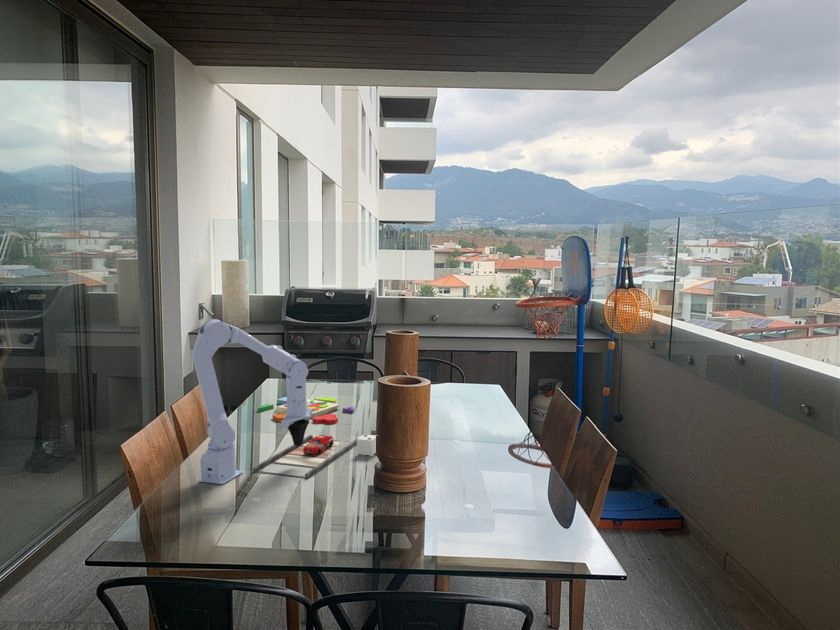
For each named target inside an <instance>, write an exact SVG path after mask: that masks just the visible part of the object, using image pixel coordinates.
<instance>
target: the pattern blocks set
mask: <svg viewBox="0 0 840 630" xmlns="http://www.w3.org/2000/svg"><path fill="white" fill-rule="evenodd" d="M276 404H278V406H277V407H275V409H274V404H273V403H272V404H269V403H266V404H263V405H260V406H258V407H257V413H263V412H264V411H265V412H267V411H270V410H274V411H273V414H272V419H273V420H274V421H275V422H276V423H281V420H283V419H284V418H285V416H286V415H287V396H283V397H280V398H277V399H276ZM340 406H341V404H339V403H337V399H336V397H329V396H328V397H327V396H324V397H317V398H314V399H310V398H307V408H310V409H312V415H311V416H310V417H309V418H308V419H312V423H313V424H316V425H319V424H325V425H334V424H335V425H336V424H338V422H339V417H337V414H335V413H331V412H333V411H335V410H337V409H338V408H339V407H340ZM354 412H355V406H349V407H348V406H347V407H342V413H346V414H354Z"/></svg>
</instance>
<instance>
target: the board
mask: <svg viewBox="0 0 840 630" xmlns="http://www.w3.org/2000/svg"><path fill="white" fill-rule="evenodd" d="M313 438H314V436H313V434H309V435H307V436H306V437H304V439H303V444H302V445H300V446H297V445H294V443H293V444H292V445H290V446H288V447H286V448H285V449H283V450H281V451H279V452H278V453H276V454H274V455H272V456H271V457H269V458H268V459H266V460H264V461H262V462H260V463H259V464H257V465H255V466H254V467H252V473H256V474H257V473H260V474H265V475H266V474H267V475H275V476H282V477H283V476H284V477H293V478H299V479H300V478H301V479H307V480H308V479H310V478H311V477H313V476H314V475H316V474H318V473H319V472H320V471H321V470H323V469H324V468H326V467H328V465H330V464H331V463H333V462H334V461H336V460H337V459H339V458H340V457H342V456H343V455H344V454H346V453H347V452H348V451H350V450H351V449H353V448H354V447H356V446H357V445H356V444H357V439H358V438H355V439H354V440H353V441H350V442H351V443H350V444H348V445H347V446H345V447H344V448H342V449H341V450H340V451H338V452H337V453H335V454H334V455H332V456H331V455H330V454H331V453H332V449H333V448H334V447H336V448H337V447H338V445H339V444H340V443H339V442H340V441H341V440H334V439H333V440H334V445H333V446H332V447H329V448H327V449H326V450H324V451H322V452H321V453H320V455H316V454H314V455H309V454H305V453H304V452H303V449H304V447H305V446H306V445H307V444H308V443H309V442H308V441H311V440H312V439H313ZM344 441H345V440H344ZM345 442H347V441H345ZM337 443H338V444H337ZM341 443H342V442H341ZM346 444H347V443H346ZM342 445H343V444H342ZM355 445H356V446H355ZM353 446H354V447H353ZM352 447H353V448H352ZM336 448H335V449H336ZM350 448H351V449H350ZM335 449H334V450H335ZM337 449H338V448H337ZM349 449H350V450H349ZM334 450H333V451H334ZM346 451H347V452H346ZM330 452H331V453H330ZM345 452H346V453H345ZM343 453H344V454H343ZM328 454H329V455H330V456H331V457H329V458H328V459H326V458H327V457H328ZM342 454H343V455H342ZM282 456H283V457H282ZM326 456H327V457H326ZM339 456H340V457H339ZM325 457H326V458H325ZM336 458H337V459H336ZM277 459H278V460H277ZM325 459H326V460H325ZM335 459H336V460H335ZM333 460H334V461H333ZM332 461H333V462H332ZM274 463H275V464H274ZM329 463H330V464H329ZM271 464H274V465H283V464H284V465H285V466H293V467H302V468H311V469H310V470H308V471H307V472H306V473H304V476H303V475H295V474H290V473H289V474H288V473H287V474H286V473H279V472H271V471H270V472H269V471H262V469H264V468H265V467H268V466H269V465H271ZM325 466H326V467H325Z"/></svg>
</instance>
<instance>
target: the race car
mask: <svg viewBox="0 0 840 630" xmlns="http://www.w3.org/2000/svg"><path fill="white" fill-rule="evenodd" d="M308 442H309V443H308V444H307V445H306V446H305V447H304V449H303V452H304V453H305V454H309V455H314V454H316V455H320V453H321V452H322V451H324V450H326V449H327V448H329V447H332V445H333V444H334V437H333V436H332V435H327V434H325V435H324V434H320V435H316V436H313V439H312V440H310V441H308Z"/></svg>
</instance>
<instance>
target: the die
mask: <svg viewBox="0 0 840 630" xmlns="http://www.w3.org/2000/svg"><path fill="white" fill-rule="evenodd" d="M376 436H377V435H374V434H373V435H372V434H362V435H360V436H359V437H358V438H356V439H357V445H356V455H357V454H362V455H369V456H368V457H373V456H375V455H376V454H377V453H376ZM375 453H376V454H375ZM374 454H375V455H374ZM362 455H361V456H362Z"/></svg>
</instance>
